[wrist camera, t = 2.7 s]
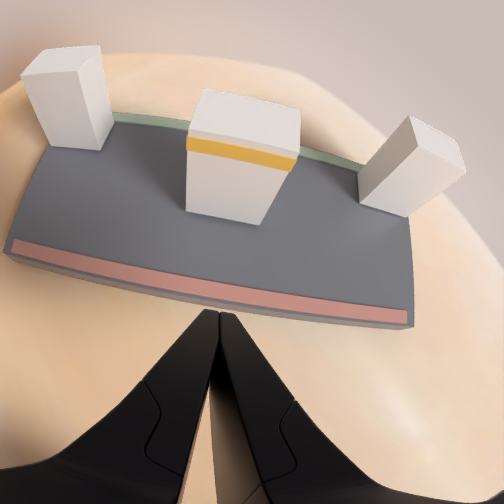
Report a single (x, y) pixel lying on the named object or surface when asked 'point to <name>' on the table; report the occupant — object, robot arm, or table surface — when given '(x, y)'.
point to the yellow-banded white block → (239, 155)
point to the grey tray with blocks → (214, 228)
